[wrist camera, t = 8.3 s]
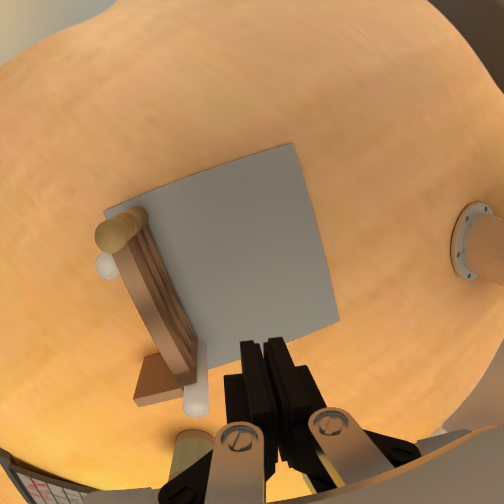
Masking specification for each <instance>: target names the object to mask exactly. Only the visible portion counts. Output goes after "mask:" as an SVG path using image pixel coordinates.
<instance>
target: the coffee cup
mask: <svg viewBox="0 0 504 504" xmlns="http://www.w3.org/2000/svg"><path fill="white" fill-rule="evenodd" d="M213 448H214V440H213V438H212V436H211V435H209V434H208V433H206V432H203V431H200V430H187V431H184V432H182V433H180V434H179V435H178V436H177V440H176V444H175V449H174V454H173V459H172V464H171V469H170V474H169V480H168V482H169V481H171V480H172V479H173V478H175V477H176V476H178V475H179V474H180V473H182V472H183V471H185V470H186V469H187V468H189V467H190V466H191V465H193V464H194V463H195V462H197V461H198V460H199V459H200V458H202V457H203V456H204V455H206V454H207V453H208V452H209V451H211V450H212V449H213Z"/></svg>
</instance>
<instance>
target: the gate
mask: <svg viewBox="0 0 504 504" xmlns="http://www.w3.org/2000/svg"><path fill="white" fill-rule="evenodd" d="M148 221H149V217H148V214H147V212H146V211H145V210H144V209H143V208H141V207H134V208H132V209H129V210H127V211H125V212H123V213H121V214H119V215H116V216H114V217H112V218H110V219H108V220H106V221H104V222H102V223H100V224H99V225H98V227H97V228H96V231H95V241H96V244H97V246H98V247H99V248H100V249H101V250H102V251H104V252H106V253H111V254H112V257H113V259H114V261H115V263H116V266H117V268H118V270H119V272H120V275H121V277H122V279H123V281H124V283H125V286H126V288H127V290H128V292H129V294H130V296H131V298H132V300H133V302H134V304H135V306H136V308H137V310H138V312H139V314H140V316H141V318H142V320H143V322H144V324H145V326H146V327H147V329H148V331H149V333H150V335H151V337H152V339H153V340H154V342H155V344H156V346H157V347H158V349H159V351H160V353H161V355H162V356H163V358H164V360H165V361H166V363H167V365H168V366H169V368H170V370H171V371H172V373H173V375H174V376H175V378H176V380H177V381H178V383H179V384H180V386H181V387H184V386H187V385H191V384H194V383H197V349H198V338H197V336H196V334H195V332H194V330H193V328H192V326H191V324H190V322H189V320H188V317H187V315H186V313H185V311H184V309H183V307H182V305H181V302H180V300H179V298H178V296H177V294H176V291H175V289H174V287H173V285H172V282H171V280H170V278H169V276H168V273H167V271H166V269H165V266H164V264H163V261H162V259H161V257H160V254H159V252H158V249H157V247H156V244H155V242H154V240H153V237H152V234H151V232H150V229H149V227H148Z"/></svg>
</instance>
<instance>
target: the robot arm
mask: <svg viewBox="0 0 504 504" xmlns="http://www.w3.org/2000/svg"><path fill="white" fill-rule="evenodd" d="M451 258H452V264H453V267H454V270H455V272H456V273H457V275H458V276H459V277H461V278H463V279H465V280H468V281H469V280H474V279H477V278H478V277H479V276H482V277H484V278H486V279H488V280H490V281H492V282H494V283H496V284H498V285H500V286H502V287H504V218H502V217H498V216H495V215H494V213H493V211H492V209H491V208H490V207H489V206H488V205H487V204H485V203H481V202H474V203H472V204H470V205H469V206H468V207H466V208H465V210H464V211H463V212H462V214H461V215H460V217H459V219H458V221H457V223H456V226H455V229H454V232H453V237H452V244H451ZM240 354H241V364H242V374H233V375H224V389H225V403H226V416H227V425H225V426H223V427H222V428H221V429H220V430H219V431H218V432H217V434H216V437H215V442H214V448H213V449H212V450H211V451H209V452H208V453H207V454H206V455H204V456H203V457H202V458H200V459H199V460H198V461H197V462H195V463H194V464H193V465H191V466H190V467H189V468H187V469H186V470H185V471H183V472H182V473H180V474H179V475H178V476H176V477H175V478H173V479H172V480H171V481H169V482H168V483H166V484H165V485H164V486H163V487H162V488H161V489H153V490H152V488H151V487H148V488H139V489H127V490H109V491H95V492H91V493H90V494H88V495H87V496H86V497H85V498H84V500H83V504H504V424H498V425H494V426H489V427H486V428H482V429H480V430H477V431H474V432H472V431H470V430H467V429H460V430H456V431H452V432H449V433H445V434H442V435H438V436H434V437H430V438H426V439H421V440H417V442H416V443H415V444H413V443H410V442H408V441H404V440H400V439H396V438H393V437H389V436H385V435H381V434H378V433H374V432H371V431H367V430H364V429H362V428H361V427H360V426H359V424H358V423H357V422H356V421H355V420H354V418H353V417H352V416H351V415H350V414H349V413H348V412H347V411H345V410H343V409H340V408H335V407H328V408H327V406H326V404H325V402H324V400H323V398H322V396H321V393H320V391H319V389H318V387H317V385H316V383H315V381H314V379H313V377H312V375H311V373H310V371H309V368H308V367H307V366H306V365H302V366H296V367H295V366H294V363H293V361H292V358H291V356H290V354H289V351H288V349H287V347H286V344H285V342H284V339H283V337H274V338H268V342H263V354H264V358H263V355H262V351H261V347H260V344H259V343H254V341H253V340H248V341H240ZM278 449H279V453H280V456H281V460H282V462H284V461H287V462H288V466H289V468H294V469H295V470H297V471H299V472H302V475H303V478H304V480H305V482H306V484H307V486H308V488H309V489H310V491H311V493H312V495H308V496H303V497H298V498H293V499H287V500H282V501H275V502H269V503H266V481H267V480H268V479H269V478H270V477H271V476H272V475H273V474H274V473H275V463H277V462H278Z"/></svg>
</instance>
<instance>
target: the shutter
mask: <svg viewBox="0 0 504 504" xmlns="http://www.w3.org/2000/svg"><path fill="white" fill-rule="evenodd" d="M0 464H1V466H2V467H3V469H4V470H5V472H6V473H7V475H8V476H9V478H10V479H11V481H12V482H13V484H14V485H15V487H16V488H17V490H18V491H19V492H20V494H21V495H22V496H23V498H24V499H25V500H26V502H27V503H29V504H83V500H84V498H85V497H86V496H87V495H88V494H90V493H91V492H95V491H103V490H99V489H95V488H90V487H85V486H81V485H76V484H72V483H68V482H65V481H61V480H57V479H54V478H50V477H47V476H44V475H41V474H38V473H35V472H32V471H29V470H26V469H23V468H21V467H18V466H17V465H16V463H15V462H14V460H13V458H12V456H11V454H10V453H9V452H7V451H5V450H3V449H2V448H0Z"/></svg>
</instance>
